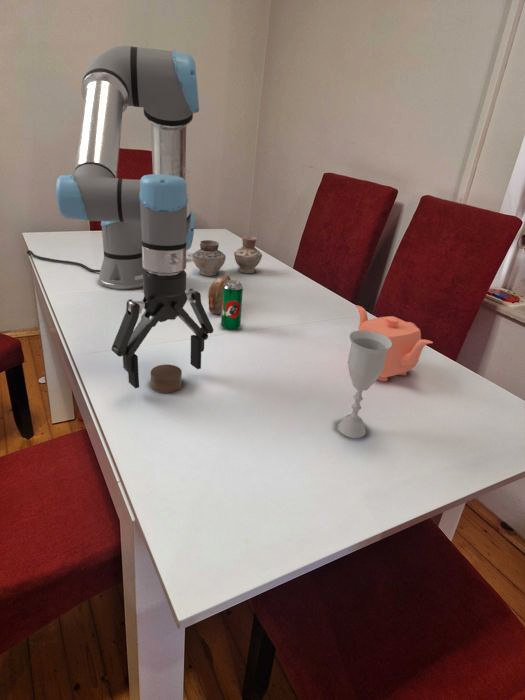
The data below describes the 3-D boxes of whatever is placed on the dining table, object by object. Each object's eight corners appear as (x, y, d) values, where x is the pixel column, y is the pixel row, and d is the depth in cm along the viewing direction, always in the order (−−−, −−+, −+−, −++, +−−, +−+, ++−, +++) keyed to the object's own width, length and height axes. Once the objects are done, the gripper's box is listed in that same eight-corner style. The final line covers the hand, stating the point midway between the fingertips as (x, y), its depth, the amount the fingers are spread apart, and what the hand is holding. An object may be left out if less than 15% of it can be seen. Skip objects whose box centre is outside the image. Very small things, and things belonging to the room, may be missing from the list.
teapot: (419, 392, 95) (434, 338, 90) (340, 376, 99) (350, 323, 93) (416, 361, 108) (430, 313, 103) (347, 348, 112) (356, 300, 106)
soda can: (244, 327, 118) (247, 283, 112) (230, 332, 114) (232, 287, 109) (231, 321, 120) (233, 278, 115) (216, 326, 117) (218, 281, 112)
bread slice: (217, 318, 121) (218, 288, 118) (205, 316, 122) (206, 287, 118) (231, 300, 135) (233, 272, 131) (221, 298, 135) (222, 271, 131)
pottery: (266, 275, 159) (269, 241, 154) (198, 279, 149) (198, 243, 143) (252, 265, 168) (255, 233, 163) (187, 269, 158) (188, 235, 152)
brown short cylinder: (145, 382, 90) (144, 369, 89) (171, 374, 94) (171, 361, 92) (160, 396, 86) (160, 382, 85) (187, 387, 90) (187, 374, 88)
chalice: (328, 416, 85) (344, 329, 76) (364, 417, 85) (383, 331, 77) (338, 441, 78) (356, 349, 70) (375, 442, 79) (398, 350, 71)
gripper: (104, 286, 69) (113, 403, 78) (234, 266, 84) (228, 366, 94) (85, 273, 74) (95, 384, 83) (211, 256, 89) (208, 352, 99)
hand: (166, 375), depth 89 cm, fingers open, 13 cm apart
